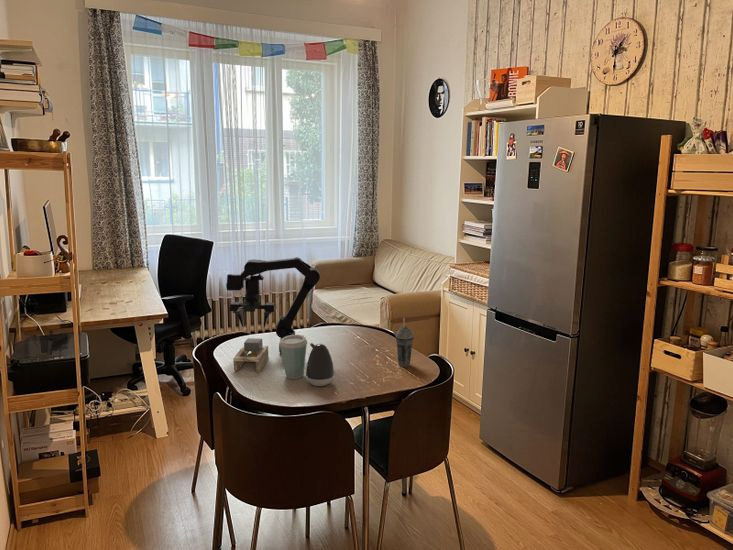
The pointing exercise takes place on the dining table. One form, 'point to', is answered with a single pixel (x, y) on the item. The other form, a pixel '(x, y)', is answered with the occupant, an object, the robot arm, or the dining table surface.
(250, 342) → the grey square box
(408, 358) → the beverage cup
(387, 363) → the dining table surface
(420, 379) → the dining table surface
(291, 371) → the disposable coffee cup
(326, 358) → the pump dispenser
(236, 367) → the keyhole board
